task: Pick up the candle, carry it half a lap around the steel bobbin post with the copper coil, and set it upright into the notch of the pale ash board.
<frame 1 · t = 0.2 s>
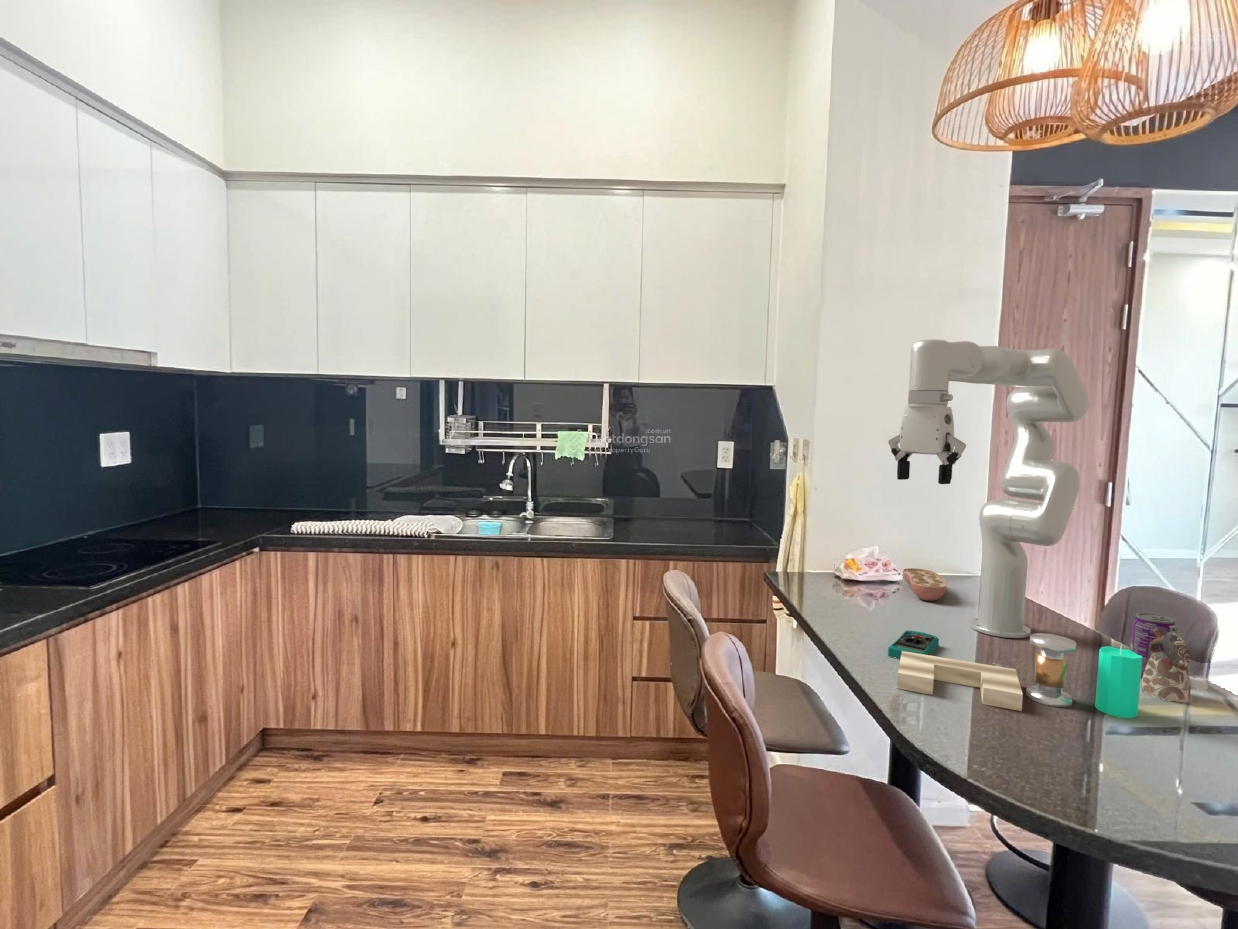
hand: (923, 481, 140), 37 cm above the counter, tool pointing down, fingers open, 9 cm apart
digital multimeter: (913, 654, 144), on the counter
bobbin post: (1048, 698, 121), on the counter
notched board: (956, 686, 126), on the counter
figurine: (1165, 695, 124), on the counter
pink elongated rounded piece: (924, 594, 192), on the counter
candle: (1115, 711, 117), on the counter
beverage can: (1150, 677, 133), on the counter
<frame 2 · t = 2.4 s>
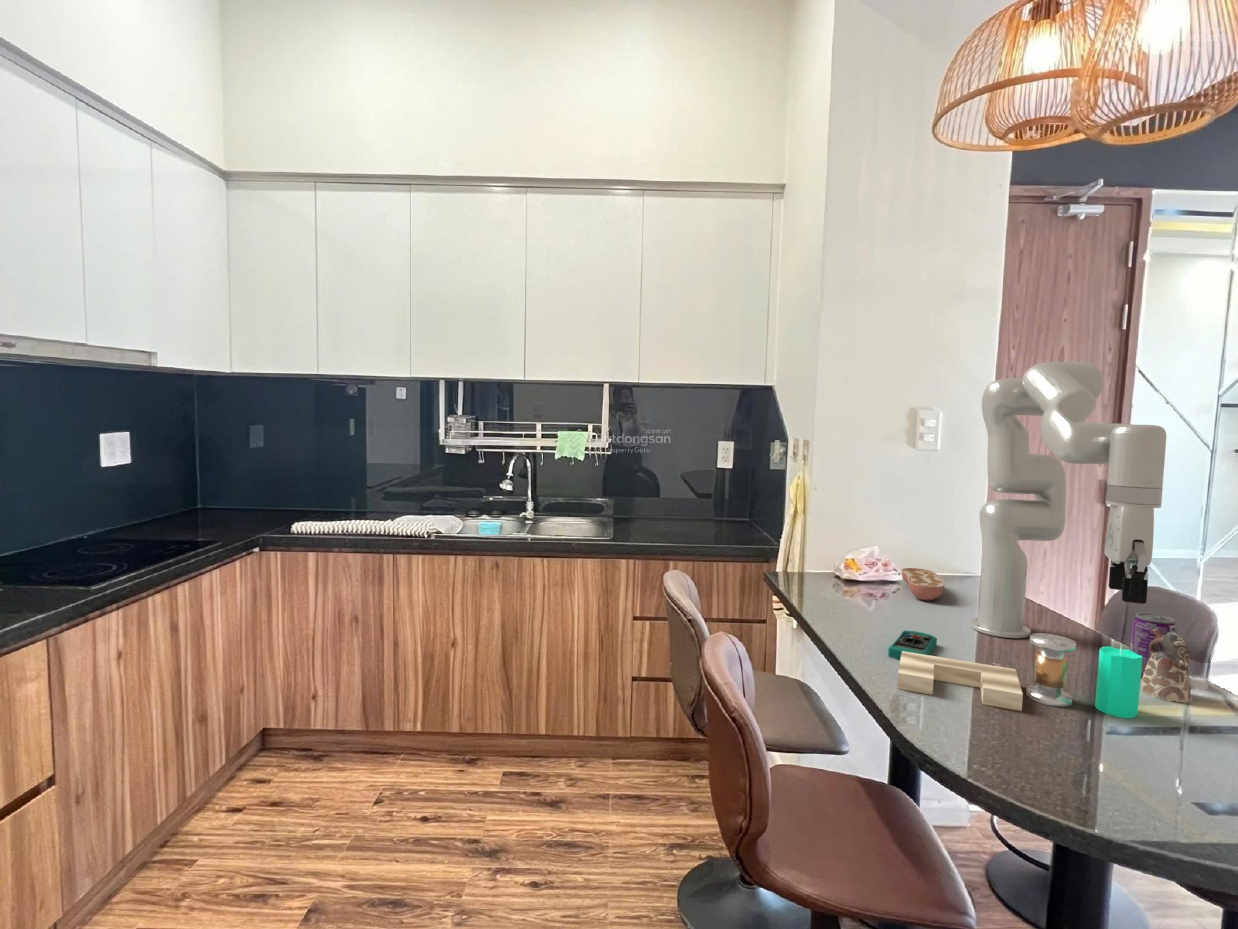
hand: (1126, 595, 115), 21 cm above the counter, tool pointing down, fingers open, 9 cm apart
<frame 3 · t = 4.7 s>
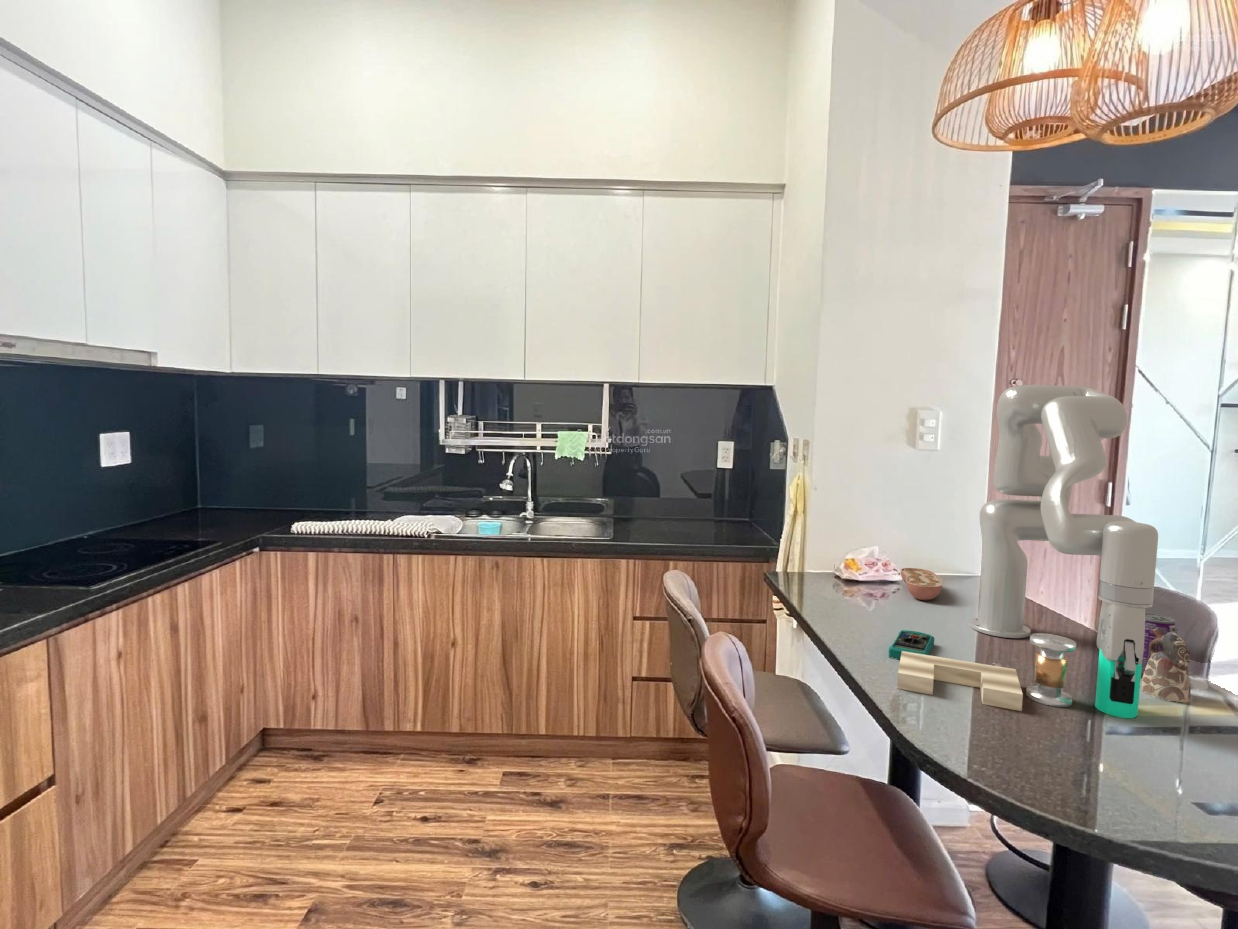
hand: (1117, 694, 116), 3 cm above the counter, tool pointing down, fingers closed on candle, 4 cm apart
candle: (1115, 711, 117), on the counter, touching gripper
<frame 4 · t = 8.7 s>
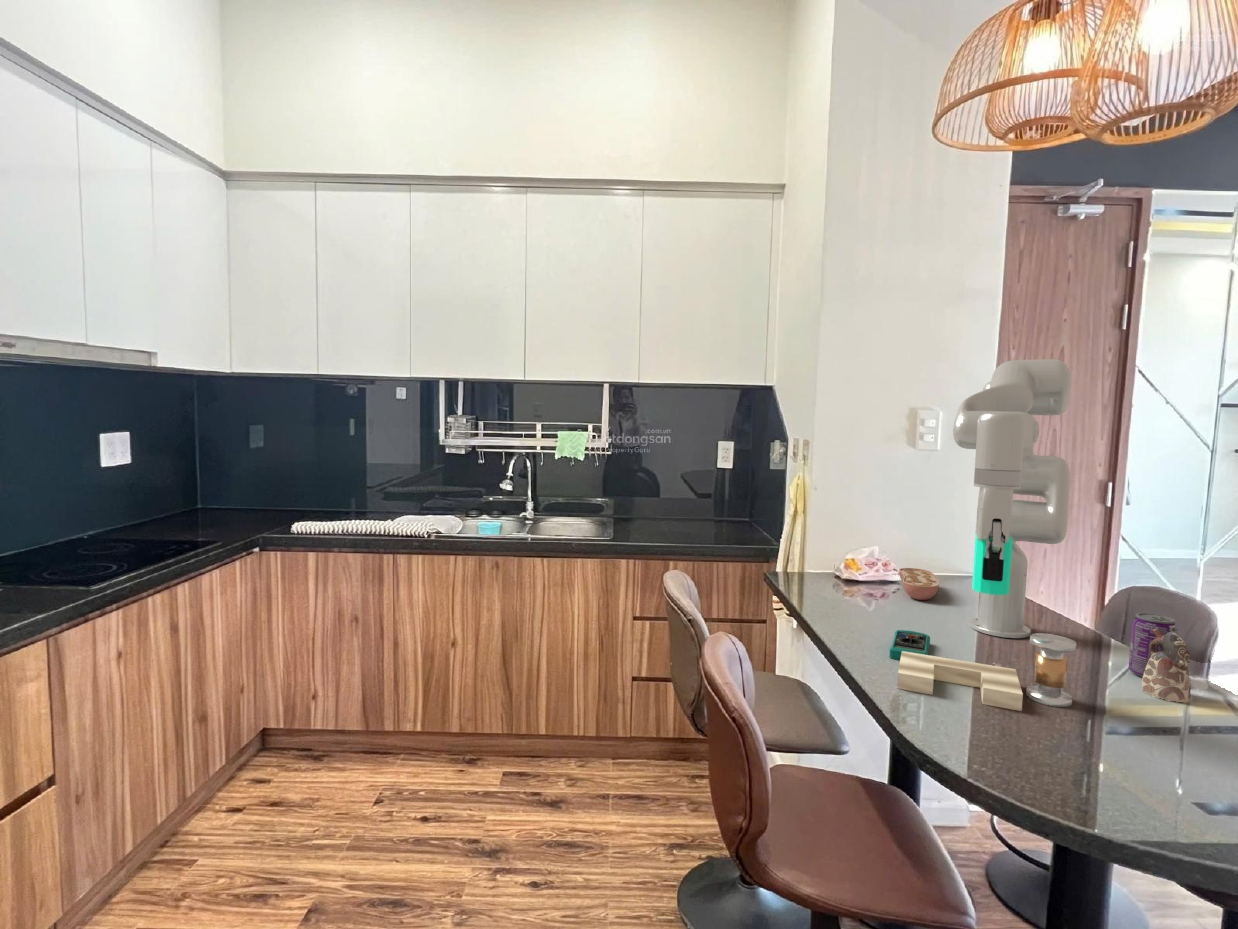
hand: (991, 576, 123), 21 cm above the counter, tool pointing down, fingers closed on candle, 4 cm apart
candle: (990, 591, 124), point 18 cm above the counter, touching gripper
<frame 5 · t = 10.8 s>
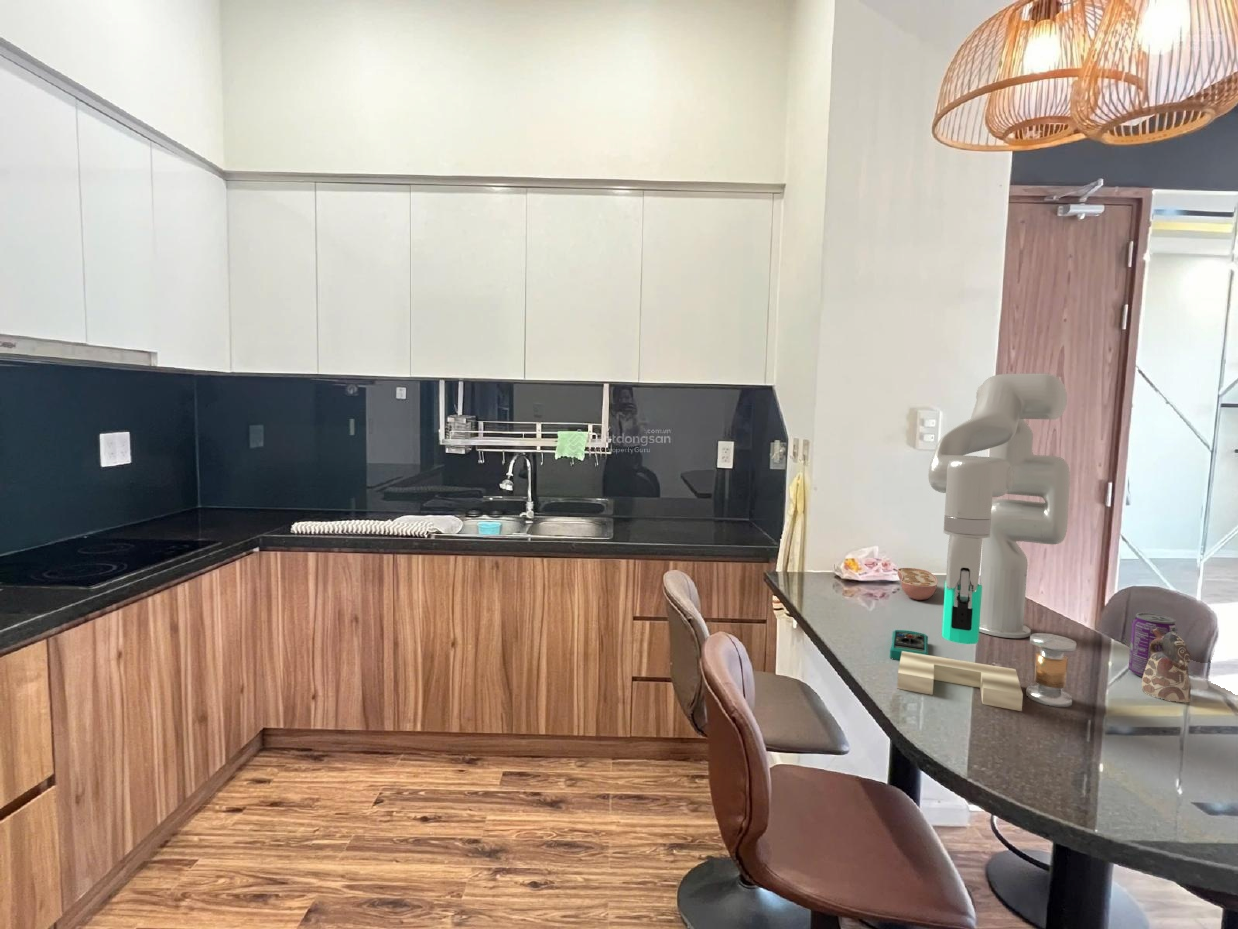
hand: (960, 623, 122), 13 cm above the counter, tool pointing down, fingers closed on candle, 4 cm apart
candle: (959, 639, 123), point 10 cm above the counter, touching gripper
when the fingers open (4 cm above the counter, at t = 12.8 s): candle stays where it is, on the counter.
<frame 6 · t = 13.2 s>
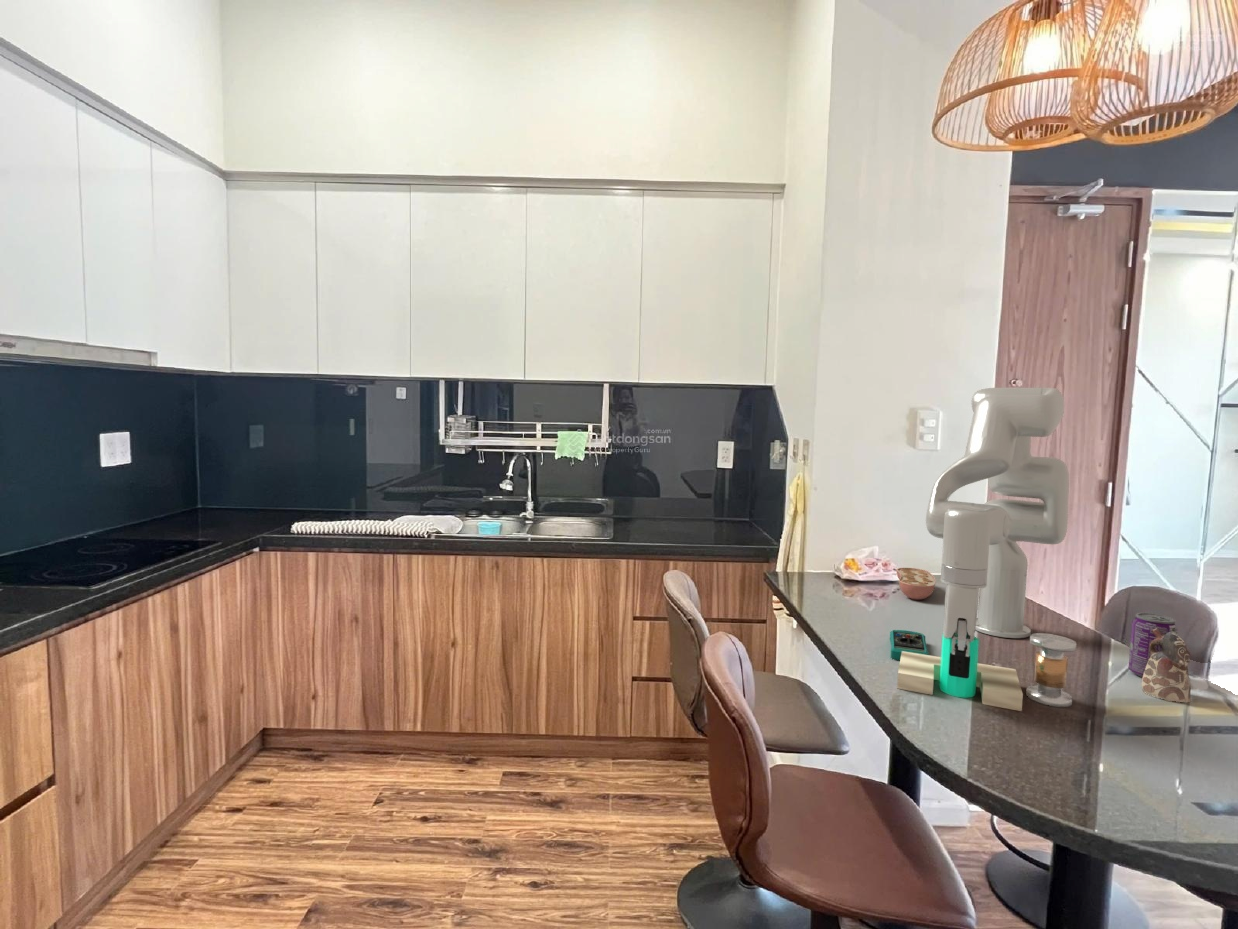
hand: (958, 667, 123), 4 cm above the counter, tool pointing down, fingers open, 8 cm apart
candle: (957, 692, 124), on the counter
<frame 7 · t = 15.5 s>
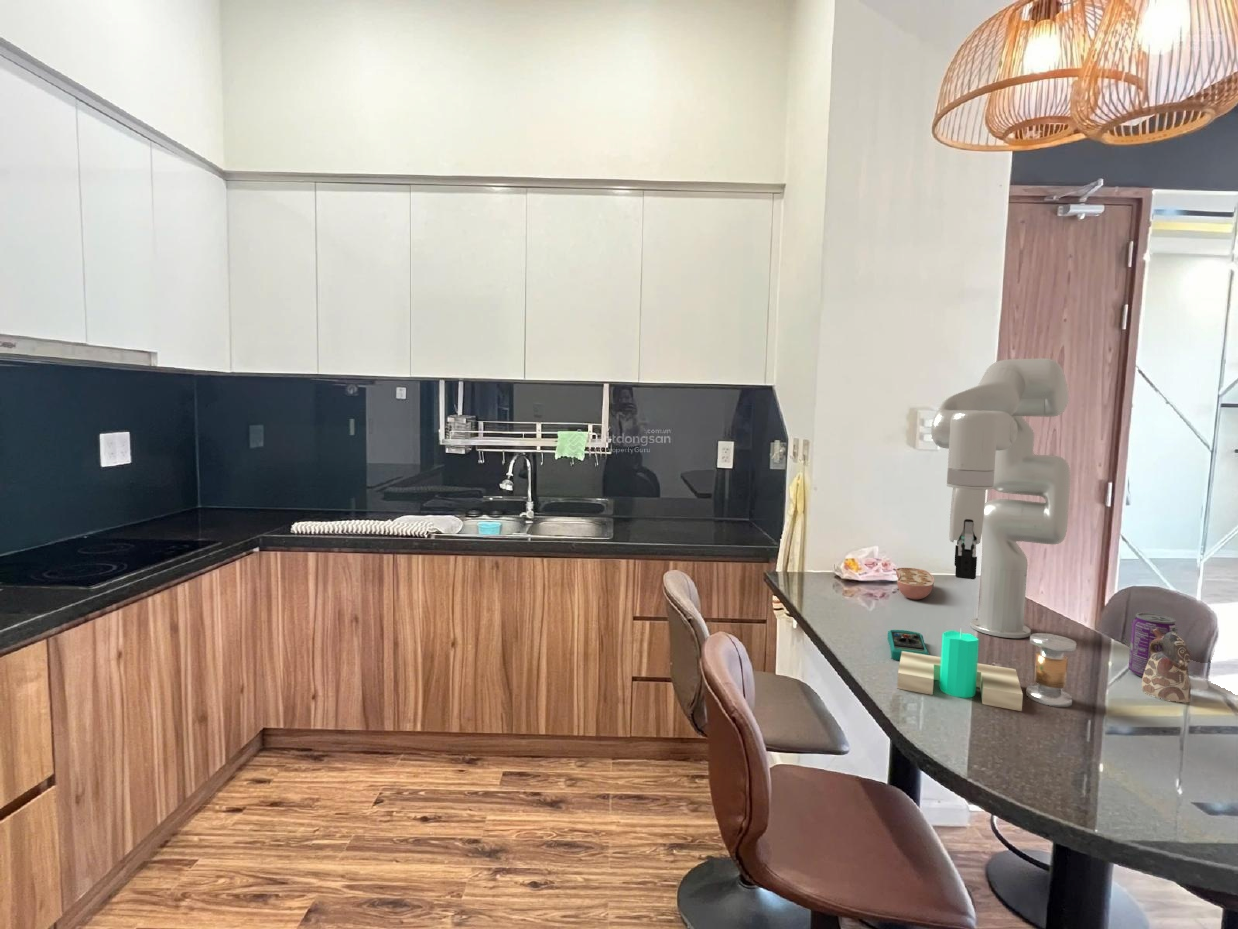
hand: (964, 572, 122), 22 cm above the counter, tool pointing down, fingers open, 9 cm apart
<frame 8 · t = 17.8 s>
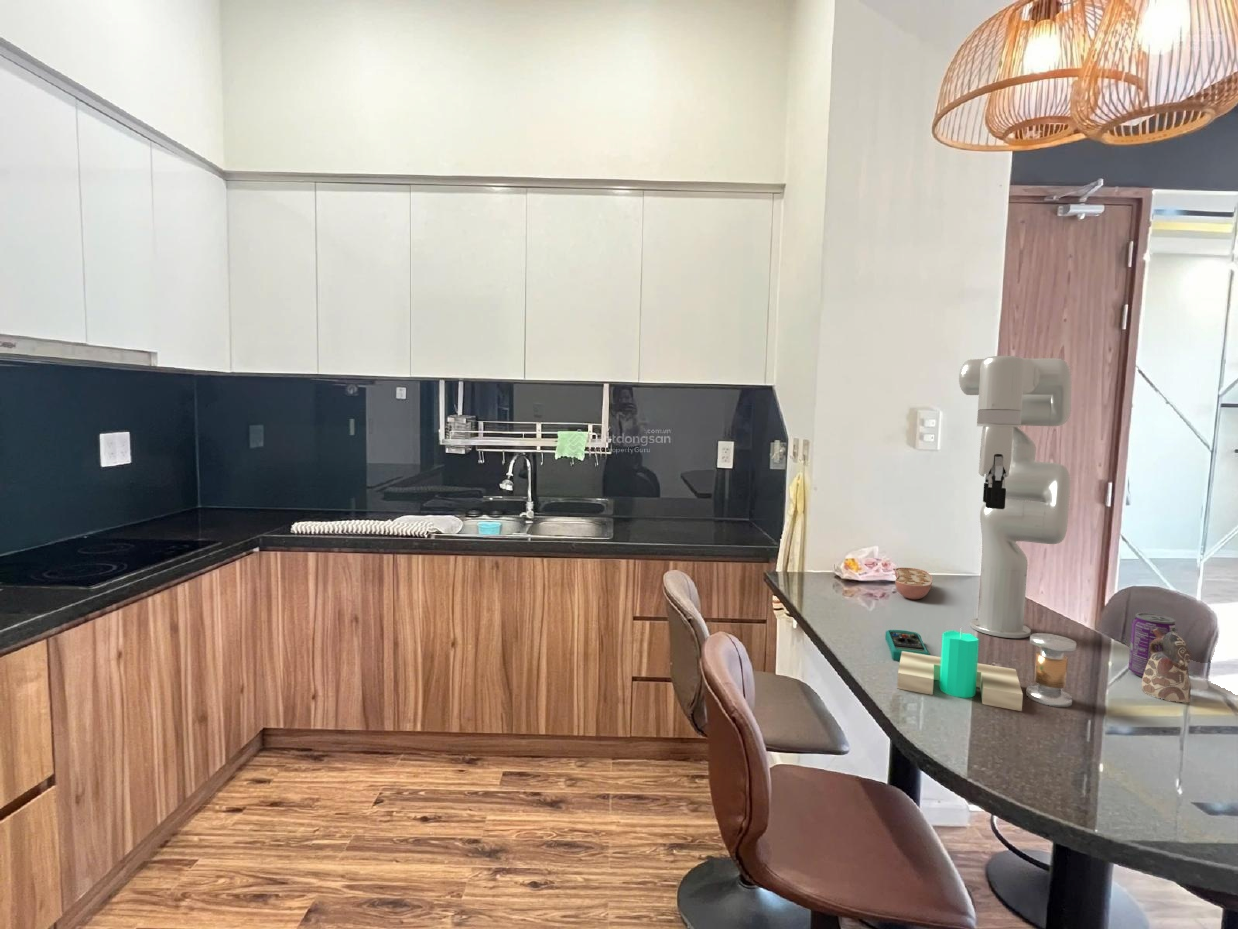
hand: (993, 505, 133), 33 cm above the counter, tool pointing down, fingers open, 9 cm apart
at the end: candle 0.6 cm from the target spot on the notched board, point 0.0 cm above the notched board's base; candle tilted 0°; the gripper is holding nothing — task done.
